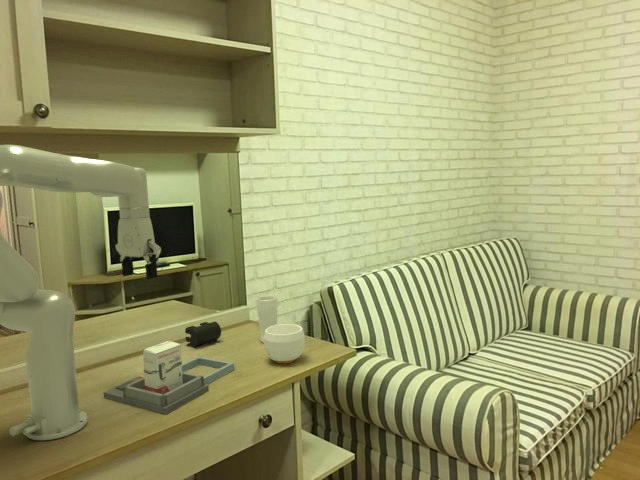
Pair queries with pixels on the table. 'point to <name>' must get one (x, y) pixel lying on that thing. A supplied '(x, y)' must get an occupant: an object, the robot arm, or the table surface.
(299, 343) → the cup
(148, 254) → the robot arm
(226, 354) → the table surface
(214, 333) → the end cap
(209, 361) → the blue-grey square frame
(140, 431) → the table surface
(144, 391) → the dock
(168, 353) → the ink box
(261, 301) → the drinking glass
